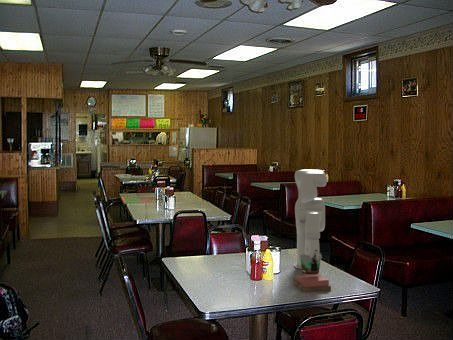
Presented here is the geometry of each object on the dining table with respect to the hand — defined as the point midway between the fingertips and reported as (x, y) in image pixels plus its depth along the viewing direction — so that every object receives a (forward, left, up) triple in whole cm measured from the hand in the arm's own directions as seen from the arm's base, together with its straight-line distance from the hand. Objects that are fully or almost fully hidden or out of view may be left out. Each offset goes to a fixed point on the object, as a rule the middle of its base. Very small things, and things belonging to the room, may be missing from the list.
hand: (312, 268), depth 258 cm
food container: (+1, 0, -3) cm, 3 cm away
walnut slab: (0, 0, -10) cm, 10 cm away
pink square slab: (0, 0, -7) cm, 7 cm away
